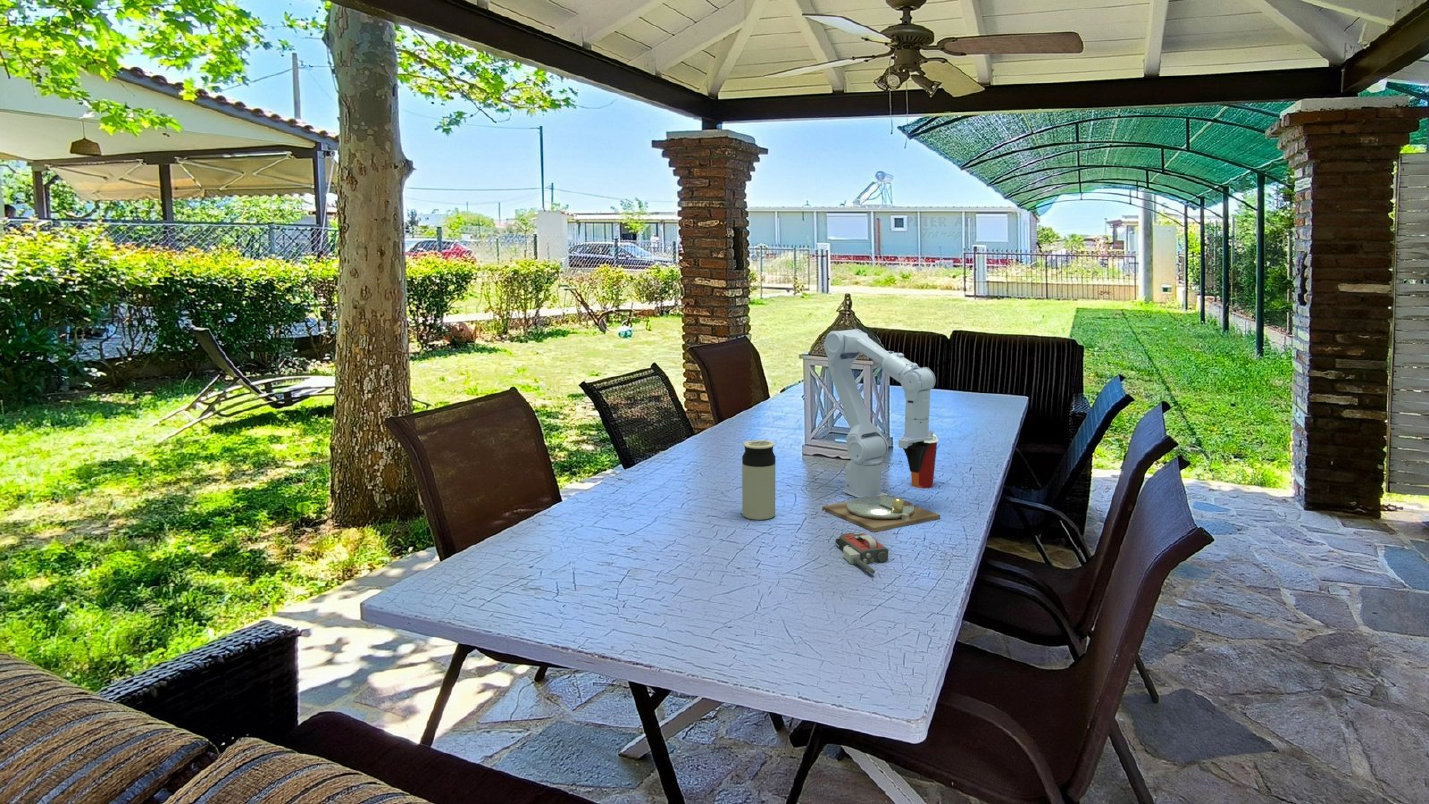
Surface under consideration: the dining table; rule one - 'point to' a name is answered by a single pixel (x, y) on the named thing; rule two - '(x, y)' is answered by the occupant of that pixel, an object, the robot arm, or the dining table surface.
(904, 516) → the dial base
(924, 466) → the paper cup
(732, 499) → the dining table surface
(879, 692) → the dining table surface
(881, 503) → the capstan dial
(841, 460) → the dining table surface
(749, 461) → the travel mug
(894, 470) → the dining table surface
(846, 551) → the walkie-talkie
